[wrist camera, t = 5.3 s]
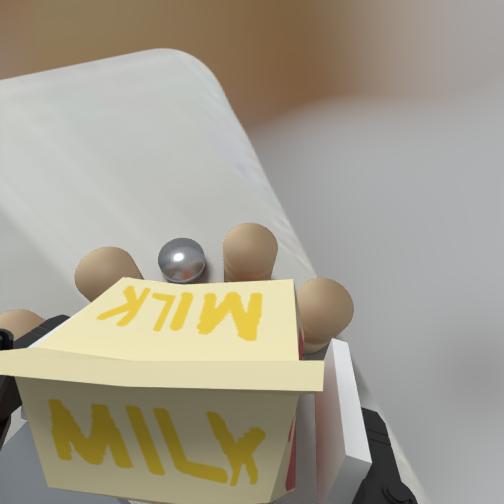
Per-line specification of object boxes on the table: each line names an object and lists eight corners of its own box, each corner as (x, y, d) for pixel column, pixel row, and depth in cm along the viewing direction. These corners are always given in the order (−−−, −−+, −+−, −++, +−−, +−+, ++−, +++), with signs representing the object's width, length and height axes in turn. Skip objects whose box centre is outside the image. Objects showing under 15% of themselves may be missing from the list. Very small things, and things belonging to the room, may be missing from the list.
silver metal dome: (153, 277, 28) (149, 269, 27) (173, 241, 30) (170, 232, 28) (194, 292, 28) (192, 285, 26) (212, 255, 29) (211, 246, 28)
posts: (26, 391, 24) (-33, 380, 18) (42, 281, 27) (-3, 244, 22) (333, 351, 26) (360, 330, 21) (310, 254, 30) (328, 215, 24)
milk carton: (288, 354, 26) (418, 185, 8) (272, 504, 22) (475, 853, 4) (167, 333, 26) (33, 123, 8) (128, 479, 22) (-327, 695, 4)
